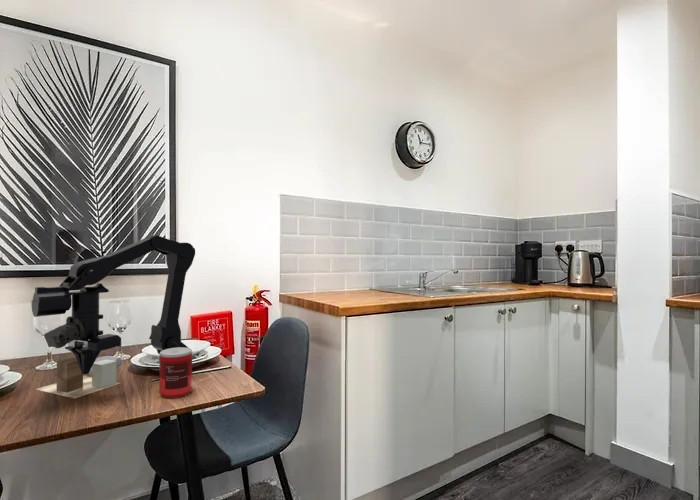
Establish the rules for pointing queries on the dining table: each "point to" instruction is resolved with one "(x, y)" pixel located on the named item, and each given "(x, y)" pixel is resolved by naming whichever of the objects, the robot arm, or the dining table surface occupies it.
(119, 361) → the stone block
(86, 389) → the serving board
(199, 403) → the dining table surface
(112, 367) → the pale grey block
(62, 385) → the walnut block
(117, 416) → the dining table surface
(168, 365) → the canned food
